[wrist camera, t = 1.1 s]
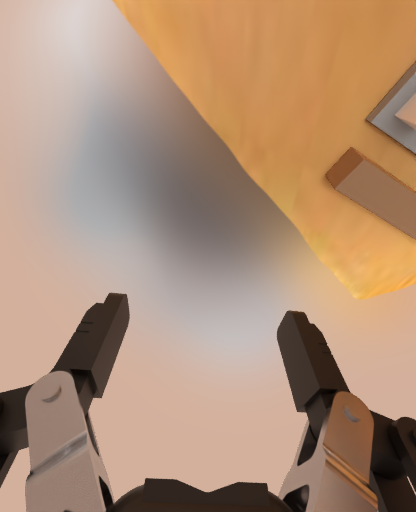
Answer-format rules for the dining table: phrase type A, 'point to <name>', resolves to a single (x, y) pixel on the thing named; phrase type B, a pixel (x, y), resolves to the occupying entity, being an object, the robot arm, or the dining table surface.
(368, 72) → the dining table surface
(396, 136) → the stand
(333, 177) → the frame bar
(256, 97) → the dining table surface
